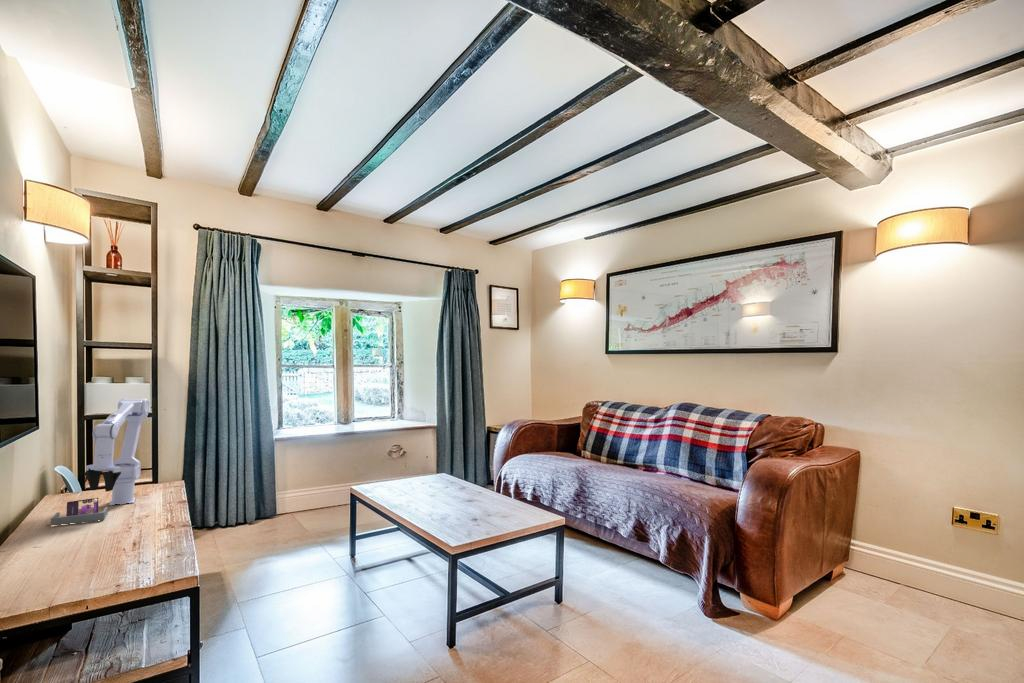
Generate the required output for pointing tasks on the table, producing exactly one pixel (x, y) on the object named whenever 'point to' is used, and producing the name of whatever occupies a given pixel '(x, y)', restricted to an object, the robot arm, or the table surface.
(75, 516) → the holder
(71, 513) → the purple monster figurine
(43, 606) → the table surface
